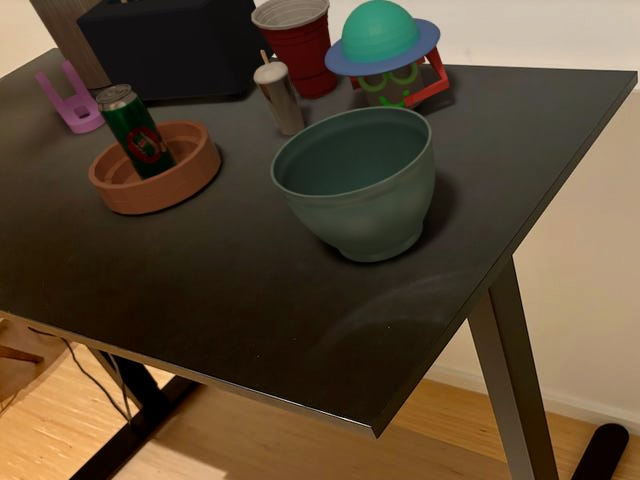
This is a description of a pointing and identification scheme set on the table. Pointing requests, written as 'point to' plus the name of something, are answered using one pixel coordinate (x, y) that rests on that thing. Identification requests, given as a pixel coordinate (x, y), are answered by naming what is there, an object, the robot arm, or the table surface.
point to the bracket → (73, 101)
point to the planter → (72, 37)
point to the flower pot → (360, 180)
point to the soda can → (135, 131)
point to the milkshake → (279, 95)
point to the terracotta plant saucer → (166, 188)
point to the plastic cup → (299, 41)
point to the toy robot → (387, 54)
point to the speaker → (176, 46)
